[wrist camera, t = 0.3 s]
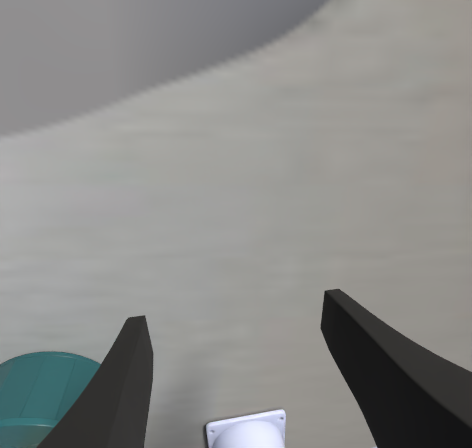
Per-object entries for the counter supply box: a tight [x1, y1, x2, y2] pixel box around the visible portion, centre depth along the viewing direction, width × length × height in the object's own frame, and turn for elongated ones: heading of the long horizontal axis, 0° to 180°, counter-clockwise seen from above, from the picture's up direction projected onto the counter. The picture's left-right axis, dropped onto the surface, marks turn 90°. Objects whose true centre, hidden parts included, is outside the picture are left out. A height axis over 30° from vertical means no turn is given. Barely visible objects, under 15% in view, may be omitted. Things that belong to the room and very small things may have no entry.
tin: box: [0, 352, 101, 420], centre depth 25 cm, size 11×11×5 cm
